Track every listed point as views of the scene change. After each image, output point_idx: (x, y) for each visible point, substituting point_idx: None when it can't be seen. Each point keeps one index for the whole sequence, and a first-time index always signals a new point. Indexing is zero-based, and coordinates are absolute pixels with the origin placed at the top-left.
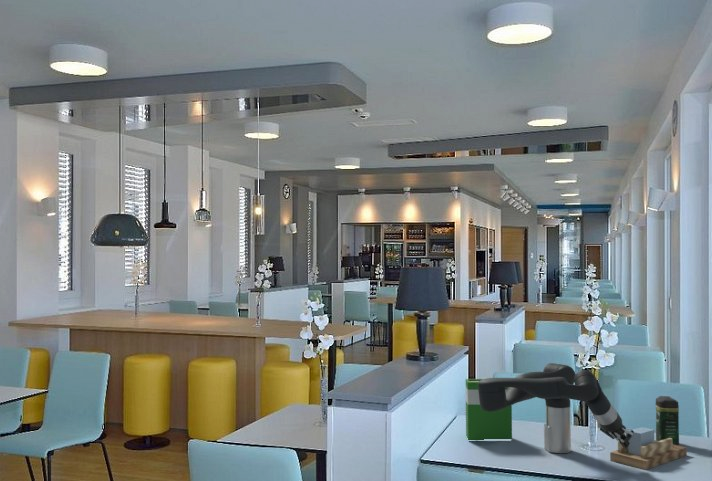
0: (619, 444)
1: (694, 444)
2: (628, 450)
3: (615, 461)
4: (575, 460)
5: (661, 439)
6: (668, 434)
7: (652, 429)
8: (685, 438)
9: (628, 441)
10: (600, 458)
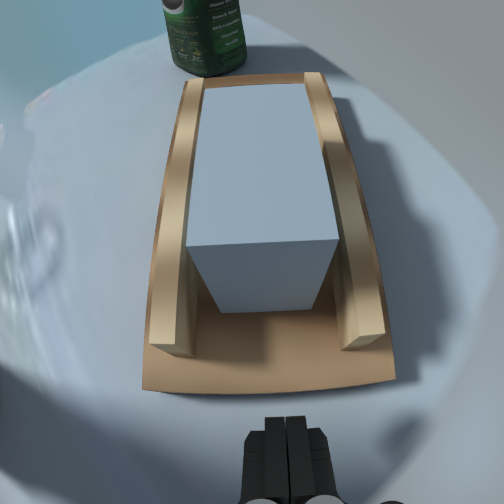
0: (168, 346)
1: (261, 36)
2: (220, 308)
3: (190, 393)
4: (64, 496)
5: (205, 62)
6: (224, 40)
7: (294, 85)
8: None
9: (329, 455)
10: (108, 391)
